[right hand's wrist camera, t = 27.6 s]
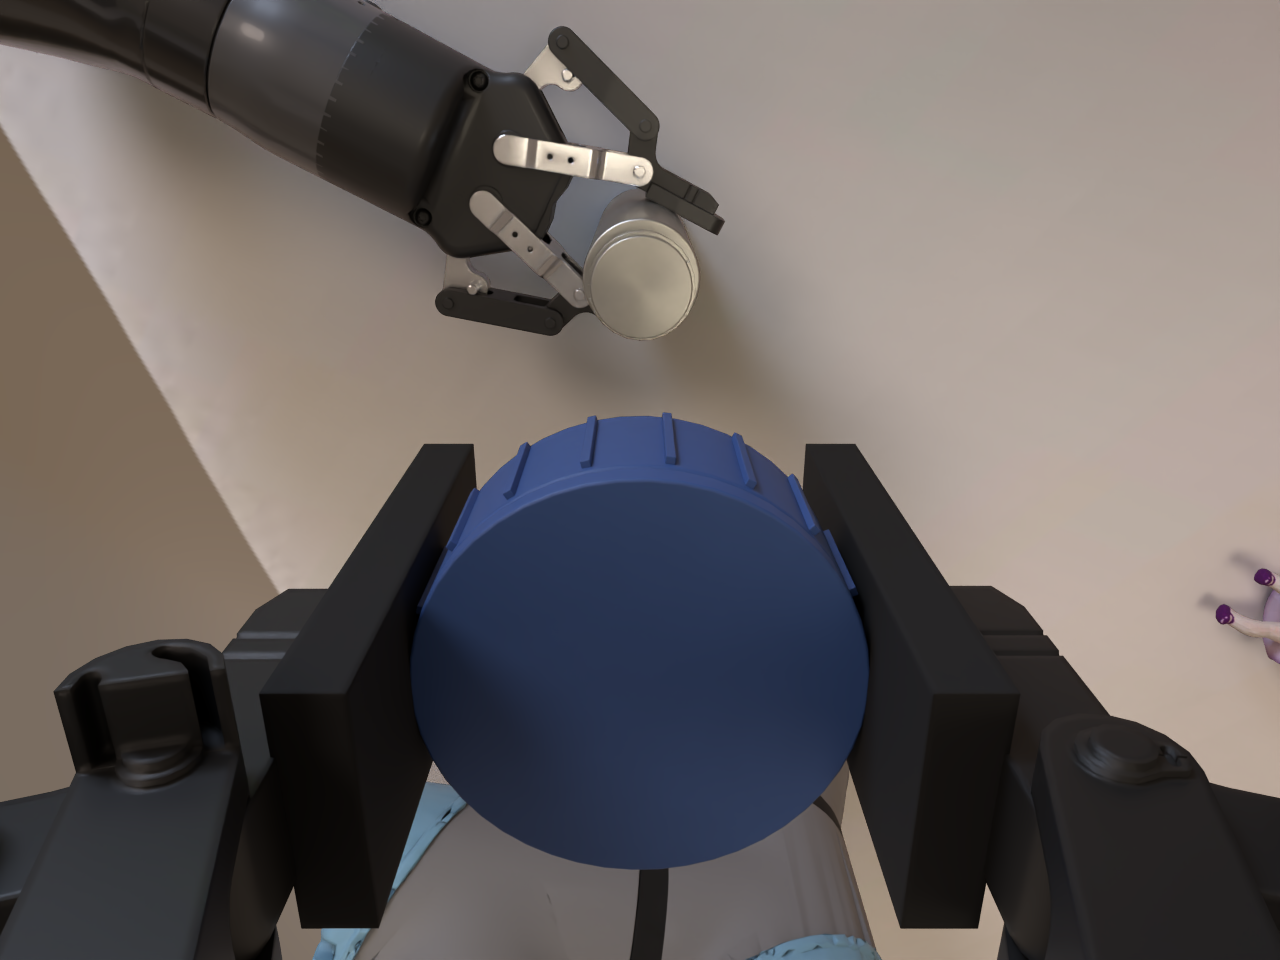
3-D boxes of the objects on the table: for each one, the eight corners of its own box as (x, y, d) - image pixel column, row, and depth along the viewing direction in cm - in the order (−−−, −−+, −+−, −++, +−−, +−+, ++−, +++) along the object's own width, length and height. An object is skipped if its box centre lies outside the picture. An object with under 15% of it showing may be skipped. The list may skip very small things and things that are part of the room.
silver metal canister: (616, 286, 49) (606, 366, 34) (586, 206, 48) (560, 251, 32) (694, 257, 49) (720, 324, 33) (666, 175, 47) (679, 205, 31)
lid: (916, 605, 12) (971, 702, 10) (628, 818, 14) (625, 941, 12) (654, 320, 11) (657, 367, 9) (360, 588, 12) (304, 684, 10)
